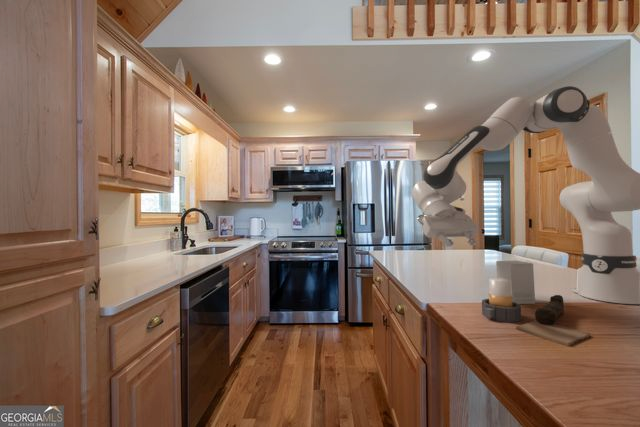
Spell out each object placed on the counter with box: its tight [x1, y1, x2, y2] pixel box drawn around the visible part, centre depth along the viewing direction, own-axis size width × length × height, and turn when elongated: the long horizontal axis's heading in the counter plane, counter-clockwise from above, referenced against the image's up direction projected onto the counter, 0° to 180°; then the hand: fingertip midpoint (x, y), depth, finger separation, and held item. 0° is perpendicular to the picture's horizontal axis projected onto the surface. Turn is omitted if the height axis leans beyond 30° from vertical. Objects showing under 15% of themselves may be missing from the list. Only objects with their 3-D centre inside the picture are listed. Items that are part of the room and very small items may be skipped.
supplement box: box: [495, 259, 536, 305], centre depth 88 cm, size 7×7×13 cm
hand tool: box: [534, 294, 565, 325], centre depth 71 cm, size 19×4×5 cm, turn 127°
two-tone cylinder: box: [488, 277, 513, 307], centre depth 74 cm, size 5×5×10 cm
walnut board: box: [515, 319, 591, 347], centre depth 63 cm, size 10×10×1 cm
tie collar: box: [481, 298, 522, 323], centre depth 74 cm, size 10×9×4 cm
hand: (462, 244), depth 86 cm, fingers open, 8 cm apart
